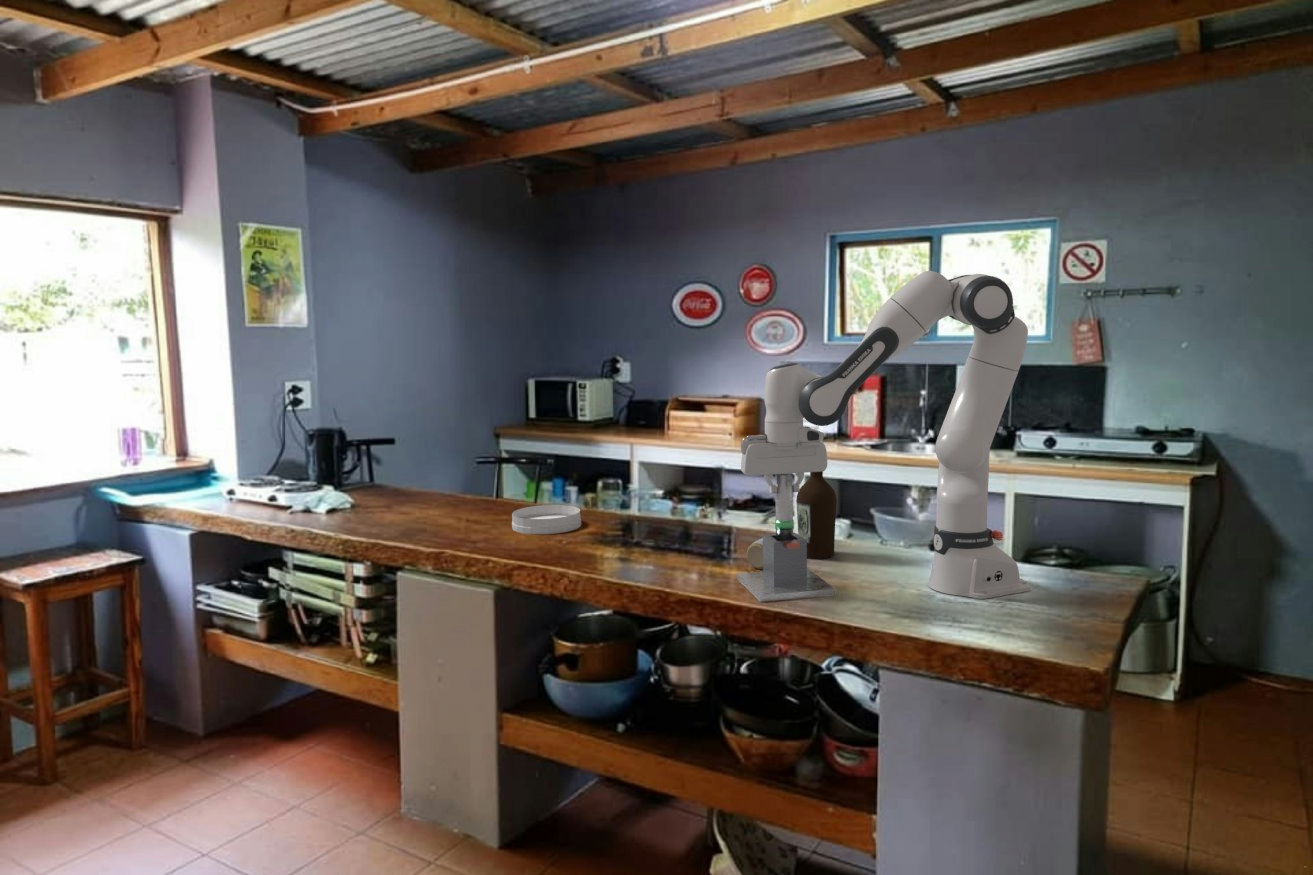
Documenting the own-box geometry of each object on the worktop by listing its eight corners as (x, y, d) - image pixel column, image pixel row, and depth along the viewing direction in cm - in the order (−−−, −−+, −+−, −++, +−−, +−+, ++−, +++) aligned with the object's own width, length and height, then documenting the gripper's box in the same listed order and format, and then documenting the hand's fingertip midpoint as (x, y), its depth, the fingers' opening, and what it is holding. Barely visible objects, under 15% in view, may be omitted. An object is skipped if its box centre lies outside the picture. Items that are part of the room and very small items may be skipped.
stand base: (806, 573, 206) (806, 526, 205) (835, 595, 189) (835, 543, 187) (737, 579, 203) (736, 531, 201) (760, 601, 185) (759, 549, 184)
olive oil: (824, 548, 230) (824, 459, 227) (843, 557, 220) (844, 465, 217) (789, 551, 227) (789, 462, 224) (807, 561, 217) (807, 467, 214)
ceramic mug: (744, 567, 213) (744, 538, 212) (761, 560, 219) (761, 532, 218) (779, 575, 206) (780, 545, 205) (796, 567, 212) (797, 538, 211)
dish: (504, 524, 270) (503, 509, 270) (568, 516, 280) (567, 502, 279) (523, 538, 250) (522, 522, 250) (591, 529, 260) (590, 514, 259)
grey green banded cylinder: (789, 546, 197) (789, 471, 195) (796, 550, 193) (796, 474, 191) (772, 547, 196) (772, 472, 194) (778, 552, 192) (778, 475, 190)
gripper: (744, 437, 186) (745, 497, 188) (830, 433, 190) (830, 492, 192) (736, 434, 192) (737, 492, 194) (819, 430, 196) (819, 487, 198)
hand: (784, 492), depth 193 cm, fingers closed on grey green banded cylinder, 4 cm apart
